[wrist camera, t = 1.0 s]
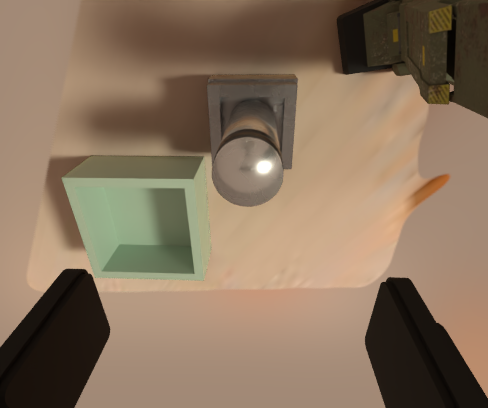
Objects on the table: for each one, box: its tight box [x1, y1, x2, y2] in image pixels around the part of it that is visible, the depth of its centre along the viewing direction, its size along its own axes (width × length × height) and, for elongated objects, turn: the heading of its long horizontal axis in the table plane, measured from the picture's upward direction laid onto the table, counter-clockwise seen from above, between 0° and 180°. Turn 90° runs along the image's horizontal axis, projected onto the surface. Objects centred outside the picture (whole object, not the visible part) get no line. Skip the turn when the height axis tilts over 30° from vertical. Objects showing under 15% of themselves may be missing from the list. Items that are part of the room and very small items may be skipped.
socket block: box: [207, 75, 298, 169], centre depth 30 cm, size 8×8×5 cm
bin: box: [62, 156, 211, 281], centre depth 35 cm, size 13×13×6 cm
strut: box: [212, 100, 283, 207], centre depth 24 cm, size 4×4×12 cm
